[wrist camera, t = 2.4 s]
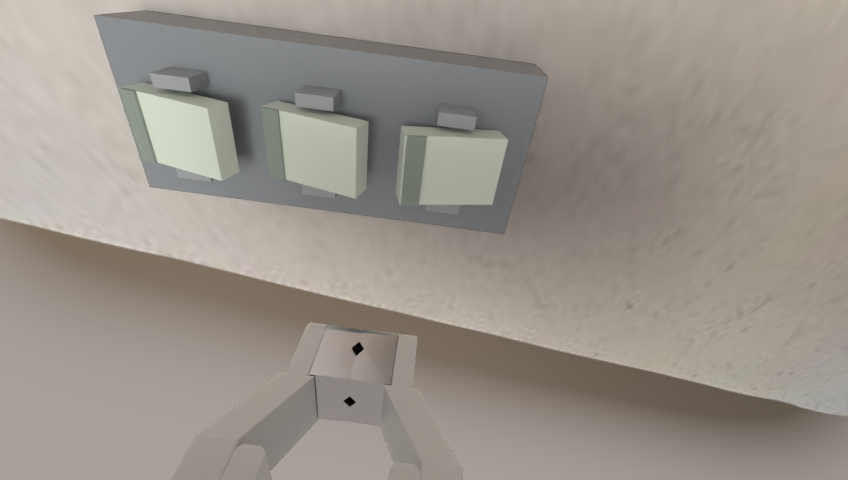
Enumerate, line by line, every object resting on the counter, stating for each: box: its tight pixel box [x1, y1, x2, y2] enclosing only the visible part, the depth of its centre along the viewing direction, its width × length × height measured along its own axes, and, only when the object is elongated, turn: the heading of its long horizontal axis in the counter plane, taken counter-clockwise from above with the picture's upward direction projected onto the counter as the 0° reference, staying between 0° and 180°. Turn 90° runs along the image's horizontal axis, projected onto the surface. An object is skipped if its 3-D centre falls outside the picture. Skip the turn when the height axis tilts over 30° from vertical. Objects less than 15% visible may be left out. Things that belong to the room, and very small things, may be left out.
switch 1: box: [119, 82, 240, 181], centre depth 21 cm, size 6×4×2 cm
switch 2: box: [261, 101, 369, 199], centre depth 21 cm, size 6×4×2 cm
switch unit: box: [94, 11, 548, 234], centre depth 24 cm, size 24×10×6 cm, turn 83°
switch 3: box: [396, 126, 508, 206], centre depth 21 cm, size 6×4×2 cm
